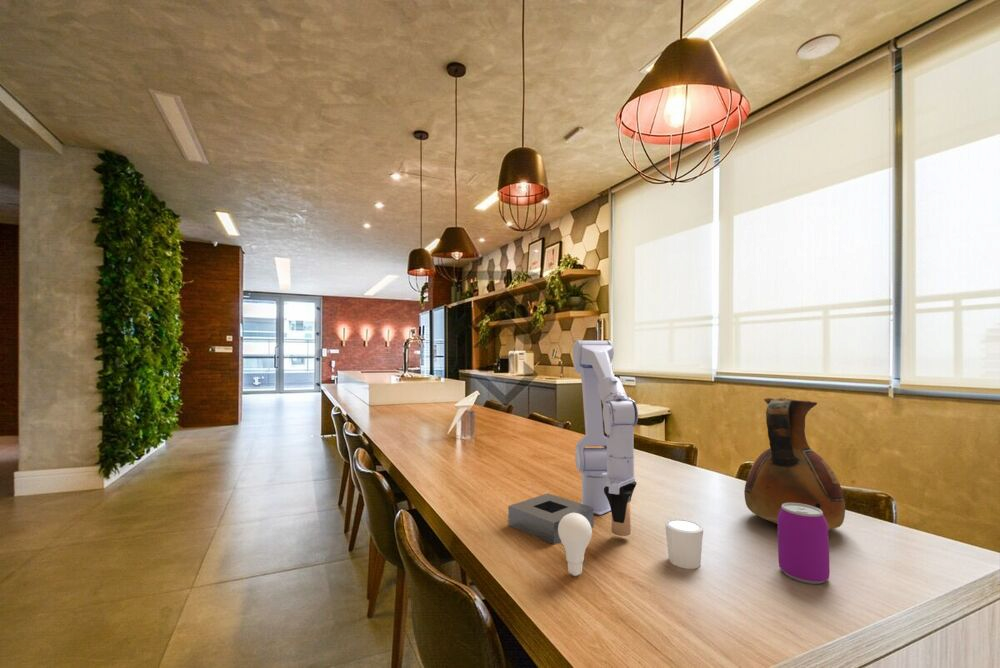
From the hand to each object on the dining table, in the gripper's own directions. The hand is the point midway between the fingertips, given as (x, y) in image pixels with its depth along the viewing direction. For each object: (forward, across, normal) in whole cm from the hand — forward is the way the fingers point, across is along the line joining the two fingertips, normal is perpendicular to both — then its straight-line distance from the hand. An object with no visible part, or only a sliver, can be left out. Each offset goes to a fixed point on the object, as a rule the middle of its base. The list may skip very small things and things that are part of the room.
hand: (620, 518), depth 96 cm
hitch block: (+4, 0, -16) cm, 17 cm away
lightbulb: (+5, +20, -4) cm, 21 cm away
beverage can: (+5, +1, +33) cm, 33 cm away
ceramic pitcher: (+5, -26, +35) cm, 44 cm away
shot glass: (+5, +5, +13) cm, 15 cm away
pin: (+3, 0, 0) cm, 3 cm away
